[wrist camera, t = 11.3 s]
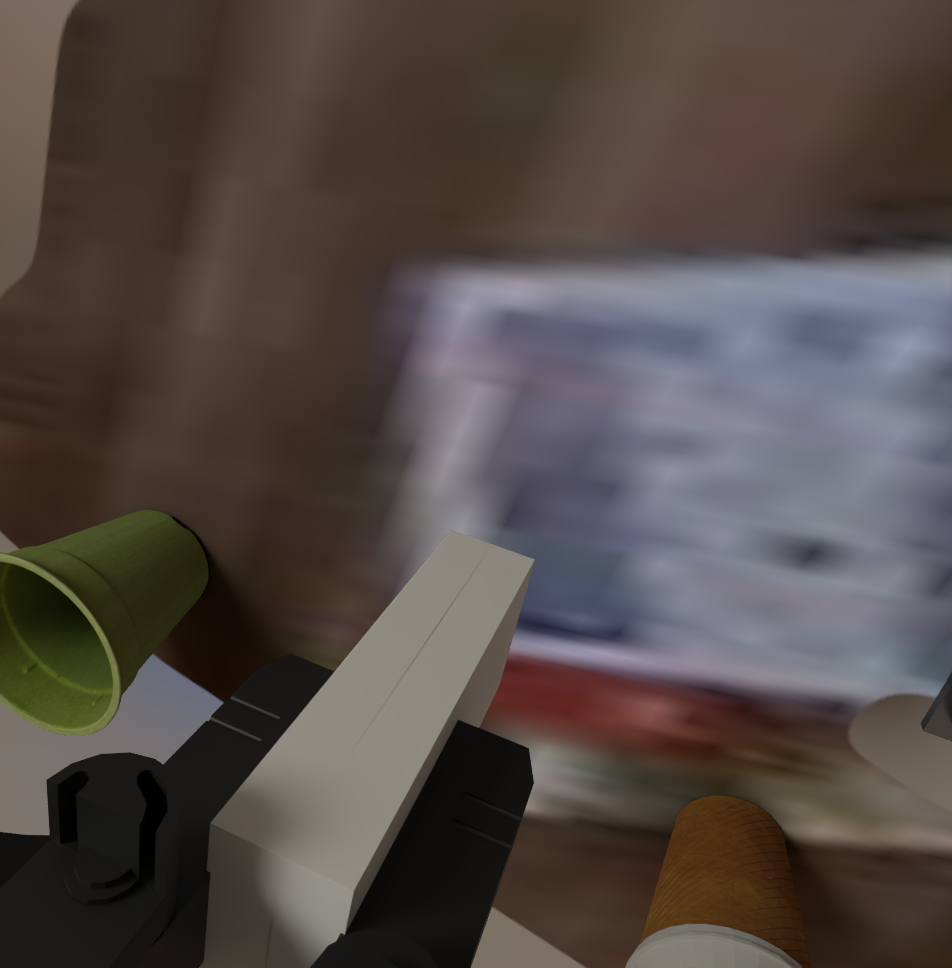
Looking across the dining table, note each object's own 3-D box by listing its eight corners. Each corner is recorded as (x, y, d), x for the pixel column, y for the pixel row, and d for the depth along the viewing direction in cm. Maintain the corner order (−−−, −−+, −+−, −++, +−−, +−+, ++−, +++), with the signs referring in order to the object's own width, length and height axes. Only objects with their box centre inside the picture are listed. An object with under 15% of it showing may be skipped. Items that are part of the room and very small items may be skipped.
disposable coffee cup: (852, 842, 43) (885, 1060, 33) (744, 921, 48) (742, 1134, 37) (711, 743, 44) (699, 926, 33) (617, 830, 48) (580, 1015, 38)
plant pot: (65, 523, 54) (-88, 604, 44) (163, 446, 49) (14, 517, 39) (167, 656, 56) (42, 761, 46) (274, 595, 50) (157, 700, 40)
